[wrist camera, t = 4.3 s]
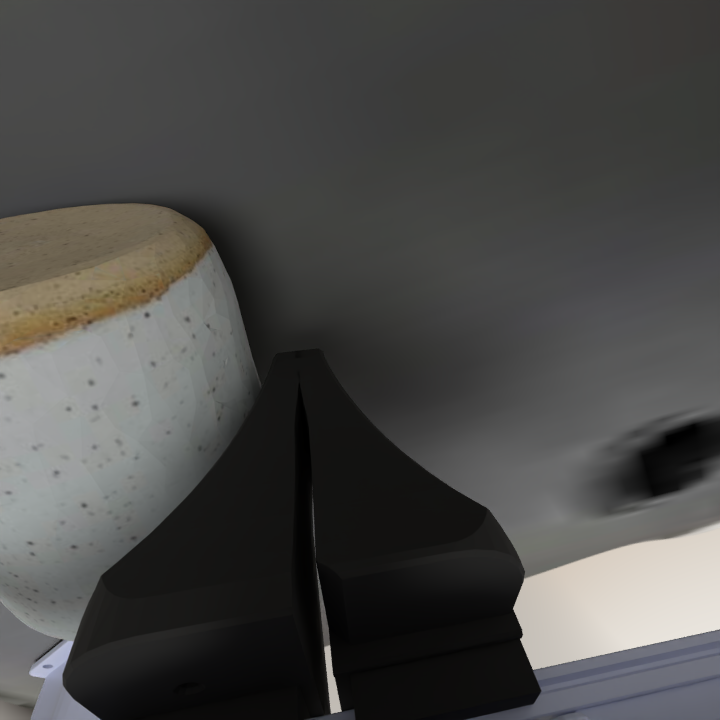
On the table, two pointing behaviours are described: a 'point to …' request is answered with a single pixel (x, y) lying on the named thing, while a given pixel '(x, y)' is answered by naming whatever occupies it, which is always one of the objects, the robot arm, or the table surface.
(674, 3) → the table surface
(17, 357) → the ceramic mug
